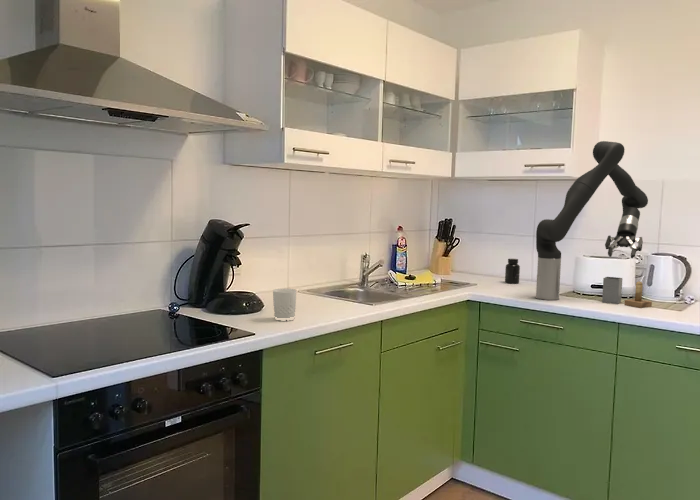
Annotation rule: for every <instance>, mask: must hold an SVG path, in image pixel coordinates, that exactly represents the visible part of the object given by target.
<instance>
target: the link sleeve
mask: <svg viewBox="0 0 700 500" xmlns="http://www.w3.org/2000/svg"><path fill="white" fill-rule="evenodd" d="M602 281H603V282H602V297H601V298H602V300H601V303H605V304H613V305H614V304H615V305H619V304H620V303H621V302H622V295H623V294H622V293H623V277H616V276H615V277H614V276H605V277H603V280H602Z"/></svg>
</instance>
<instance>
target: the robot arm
mask: <svg viewBox="0 0 700 500" xmlns="http://www.w3.org/2000/svg"><path fill="white" fill-rule="evenodd" d="M625 150H626V149H625V146H624V144H623V143H620V142H616V141H608V140H607V141H605V140H603V141H602V140H601V141H598V142H596V143H595V145H594V147H593V149H592V157H593V158H594V160H595V162H596V163H598V164H597V165H595V166H594V167H593V168H592V169H590V170H588V171H587V172H585V173H583V174H582V175H580V176H579V177H578V178H576V180H574V182H573V183H572V184H571V186H570V188H569V189H568V190H567V192H566V195H565V199H564V204H563V207H562V209H561V211H560V212H559V213H558V215H557V216H556V217H555V218H554V219H549V218H548V219H547V218H546V219H542V220H540V221H539V222H538V224H537V227H536V233H535V235H536V236H535V240H536V242H535V243H536V245H535V247H536V251H537V270H536V271H537V273H536V284H535V285H536V287H535V297H536V299H539V300H546V301H556V300H560V290H561V288H560V287H561V269H562V268H561V267H562V266H561V265H562V264H561V263H562V252H561V250H560V249H559V248H558V247H557V244H556V243H557V242H558V243H559V242H561V241H563V239H564V238H565V237H566V236H567V234H568V232H569V231H570V229H571V228H572V225H573V223H574V222H575V220H576V218H577V217H578V216H579V215H580V213H581V212H582V210H583V209H584V207H585V206H586V205H587V203H588V202H589V201H590V199H591V198H592V197H593V196H594V194H595V192H596V191H597V190H598V189H599V187H600V186H601V184H602V183H603V182H604V180H605V179H606V178H607V177H608V176H609V177H610V179H611V181H613V184H614V185H615V186H616V188H617V190H618V192H619V194H620V195H621V196H623V197H622V199H621V205H622V215H621V219H620V221H619V224H618V227H617V232H616V235H615V236H611V235H608V236H607V238H606V241H605V243H604V246H605V250H607V256H608V257H609V258H612V255H613V251H614V250H615V249H617V248H619V247H620V248H628V247H629V248H630V249H631V252H630V259H634V258H635V257H636V254H637V252H641V251H642V250H643V244H644V243H643V236H640V237H637V238H636V235H637V233H638V229H639V220H640V217H641V211H640V210H639V209H643V208H646V207H647V206H648V203H649V198H648V196H647V194H646V193H645V192H644V191H643V190H642V189H641V188H640V187H639V186H637V184H636V182H635V181H634V180H633V178H632V176H631V175H630V174H629V173H628V171H626V170H625V169H624V168H623V167H621V166H620V165H619V163H620V162H621V160H622V159H623V158H624V155H625ZM635 243H637V246H636V245H635Z"/></svg>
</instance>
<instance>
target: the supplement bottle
mask: <svg viewBox="0 0 700 500" xmlns="http://www.w3.org/2000/svg"><path fill="white" fill-rule="evenodd" d="M518 263H519V259H518V258H508V259H507V264H506V265H505V273H504V274H505V276H504V282H505V284H510V285H511V284H512V285H513V284H514V285H515V284H516V285H517V284H519V283H520V272H521V266H520V265H519V264H518Z"/></svg>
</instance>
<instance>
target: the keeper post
mask: <svg viewBox="0 0 700 500" xmlns="http://www.w3.org/2000/svg"><path fill="white" fill-rule="evenodd" d="M643 287H644V286H643V282H642V281H639V280H638V281H637V282H636V283H635V294H634V298H631V299H625V300H624V306H628V307H632V308H639V309H645V308H651V307H653V304H652V303H653V301H650V300H644V299H642V298H643Z"/></svg>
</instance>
